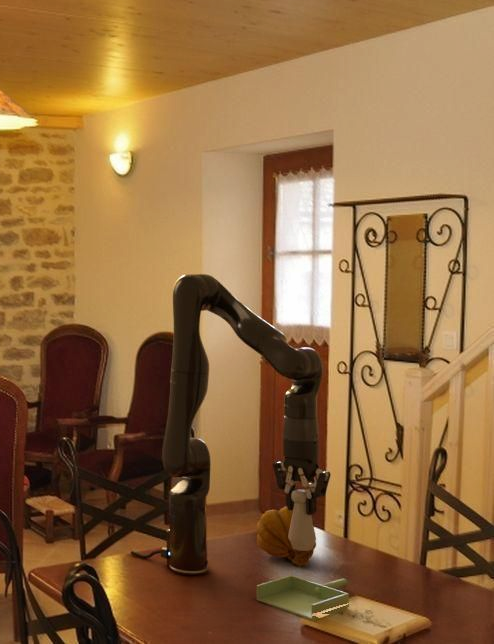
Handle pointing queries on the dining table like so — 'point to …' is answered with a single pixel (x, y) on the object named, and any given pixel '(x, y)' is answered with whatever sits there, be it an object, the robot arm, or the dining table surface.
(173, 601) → the dining table surface
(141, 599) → the dining table surface
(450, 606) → the dining table surface
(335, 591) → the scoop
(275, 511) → the pumpkin
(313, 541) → the salt shaker
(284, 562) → the dining table surface
